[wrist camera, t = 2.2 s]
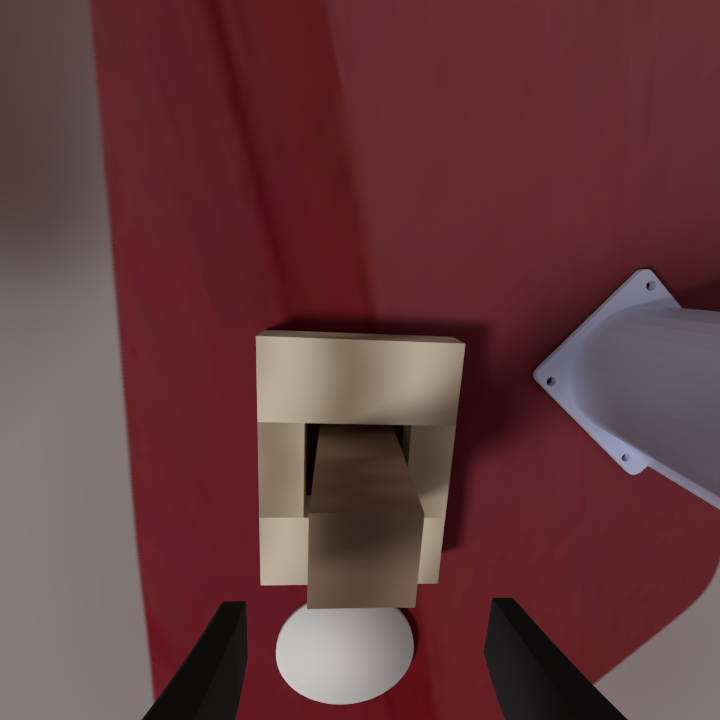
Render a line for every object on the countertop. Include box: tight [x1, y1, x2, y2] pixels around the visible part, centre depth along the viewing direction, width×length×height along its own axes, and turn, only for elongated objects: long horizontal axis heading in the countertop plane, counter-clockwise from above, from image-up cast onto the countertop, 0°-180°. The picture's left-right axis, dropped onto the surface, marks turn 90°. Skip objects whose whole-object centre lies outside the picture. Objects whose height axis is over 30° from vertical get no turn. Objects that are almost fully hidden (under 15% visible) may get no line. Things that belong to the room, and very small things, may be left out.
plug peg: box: [307, 423, 425, 609], centre depth 17 cm, size 4×4×8 cm
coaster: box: [276, 602, 414, 704], centre depth 23 cm, size 9×9×1 cm
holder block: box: [256, 330, 465, 585], centre depth 19 cm, size 10×14×2 cm
